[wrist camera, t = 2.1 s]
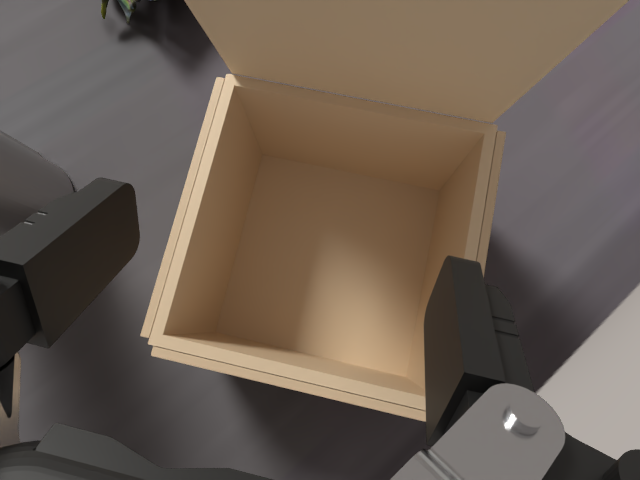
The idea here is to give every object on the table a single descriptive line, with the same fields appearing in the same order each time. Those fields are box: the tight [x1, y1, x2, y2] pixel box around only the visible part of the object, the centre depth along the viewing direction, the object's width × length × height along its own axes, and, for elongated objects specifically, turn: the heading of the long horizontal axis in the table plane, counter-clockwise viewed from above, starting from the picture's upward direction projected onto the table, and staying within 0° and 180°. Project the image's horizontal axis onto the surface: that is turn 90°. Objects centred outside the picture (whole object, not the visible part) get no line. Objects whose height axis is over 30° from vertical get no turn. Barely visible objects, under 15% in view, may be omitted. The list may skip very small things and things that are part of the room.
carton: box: [140, 74, 506, 422], centre depth 37 cm, size 21×21×14 cm
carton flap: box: [184, 0, 629, 123], centre depth 22 cm, size 20×19×1 cm
